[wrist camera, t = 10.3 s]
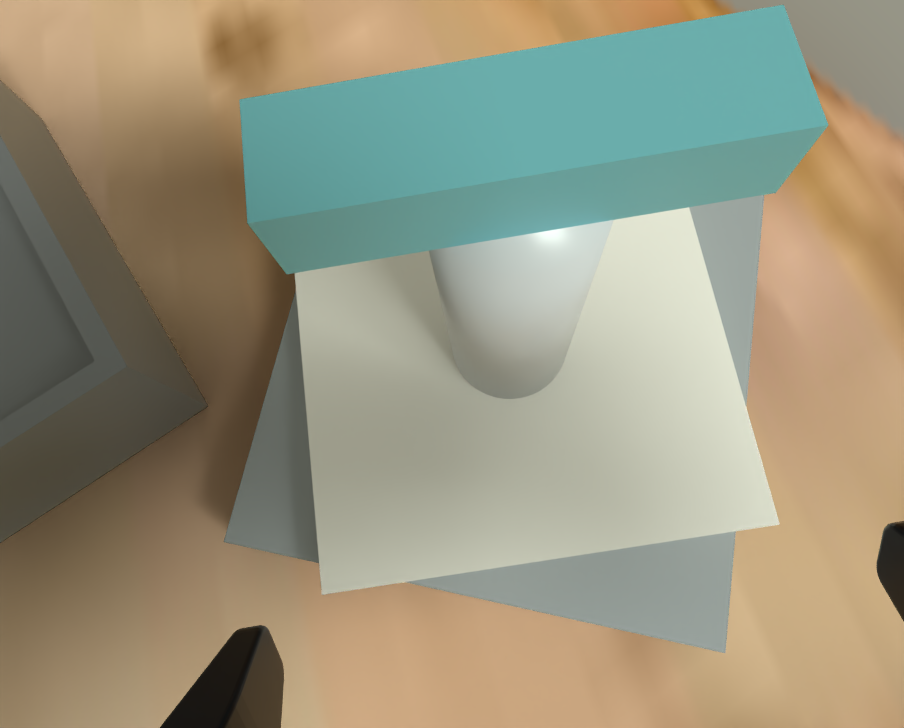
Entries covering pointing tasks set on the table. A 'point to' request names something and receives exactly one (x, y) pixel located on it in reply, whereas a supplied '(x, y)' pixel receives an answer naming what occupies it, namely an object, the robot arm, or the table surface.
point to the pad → (551, 581)
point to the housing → (70, 335)
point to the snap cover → (525, 292)
